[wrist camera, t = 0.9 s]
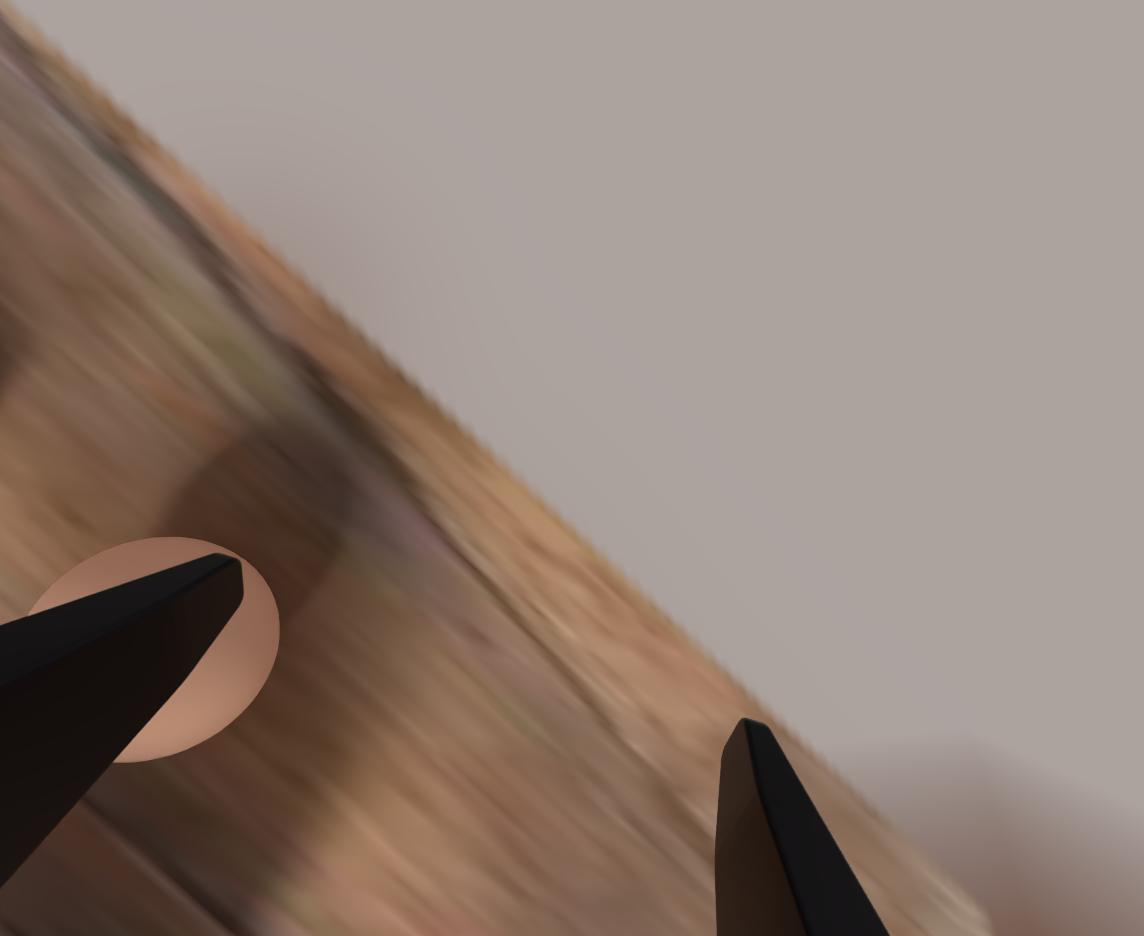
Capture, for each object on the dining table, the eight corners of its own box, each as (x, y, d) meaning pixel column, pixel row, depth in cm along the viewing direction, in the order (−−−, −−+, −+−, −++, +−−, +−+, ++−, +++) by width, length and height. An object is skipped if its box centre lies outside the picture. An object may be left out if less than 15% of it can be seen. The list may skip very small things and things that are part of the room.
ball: (148, 748, 18) (26, 864, 13) (56, 585, 18) (-115, 628, 12) (328, 652, 20) (293, 716, 14) (247, 499, 19) (176, 501, 14)
